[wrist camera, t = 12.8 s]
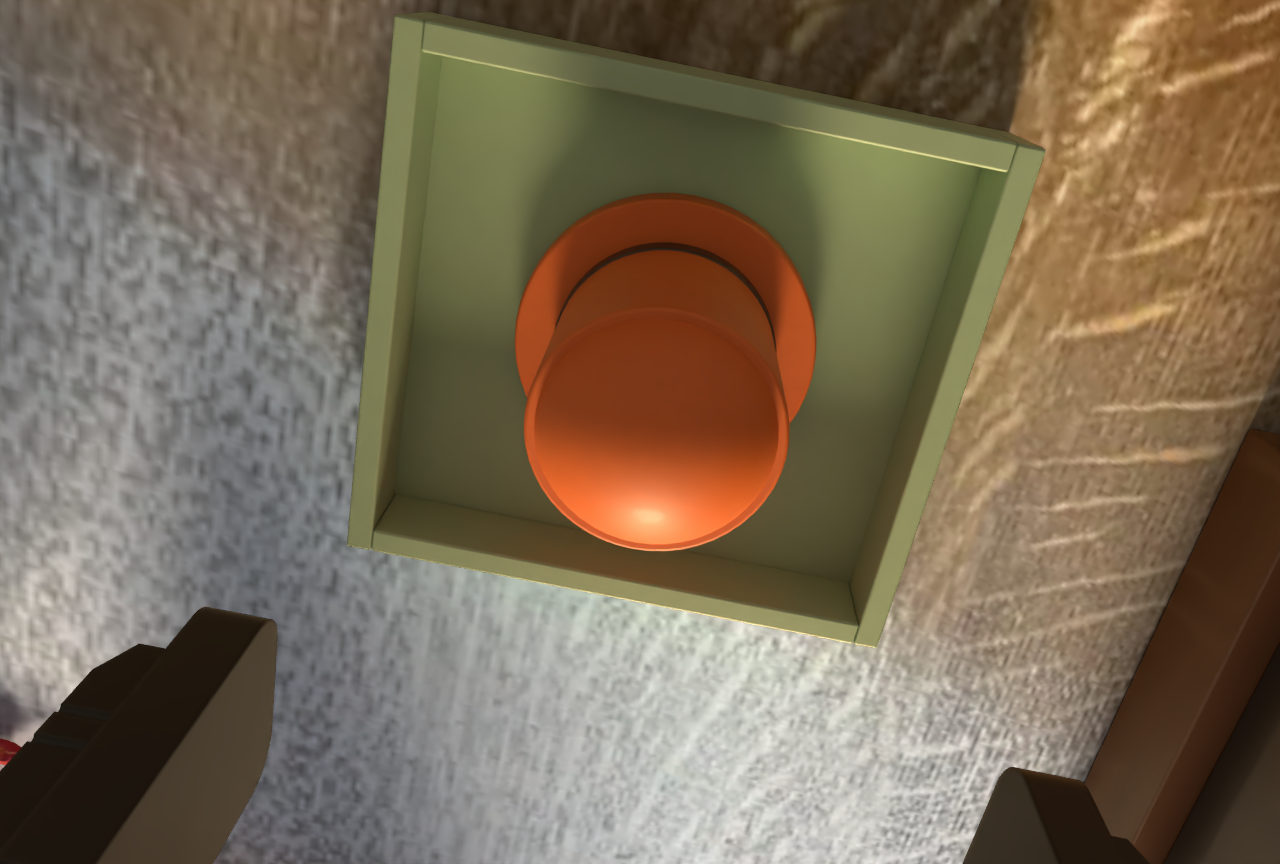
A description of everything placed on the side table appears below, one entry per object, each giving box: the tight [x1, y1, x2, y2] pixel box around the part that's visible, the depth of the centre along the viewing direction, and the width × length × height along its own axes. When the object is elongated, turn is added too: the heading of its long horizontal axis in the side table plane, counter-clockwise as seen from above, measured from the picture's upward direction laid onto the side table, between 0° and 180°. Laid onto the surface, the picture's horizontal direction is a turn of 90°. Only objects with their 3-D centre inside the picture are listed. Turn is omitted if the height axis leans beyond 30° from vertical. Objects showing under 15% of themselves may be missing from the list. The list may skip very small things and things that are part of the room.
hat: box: [515, 193, 817, 551], centre depth 21 cm, size 7×7×7 cm
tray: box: [347, 12, 1045, 648], centre depth 24 cm, size 13×12×3 cm
